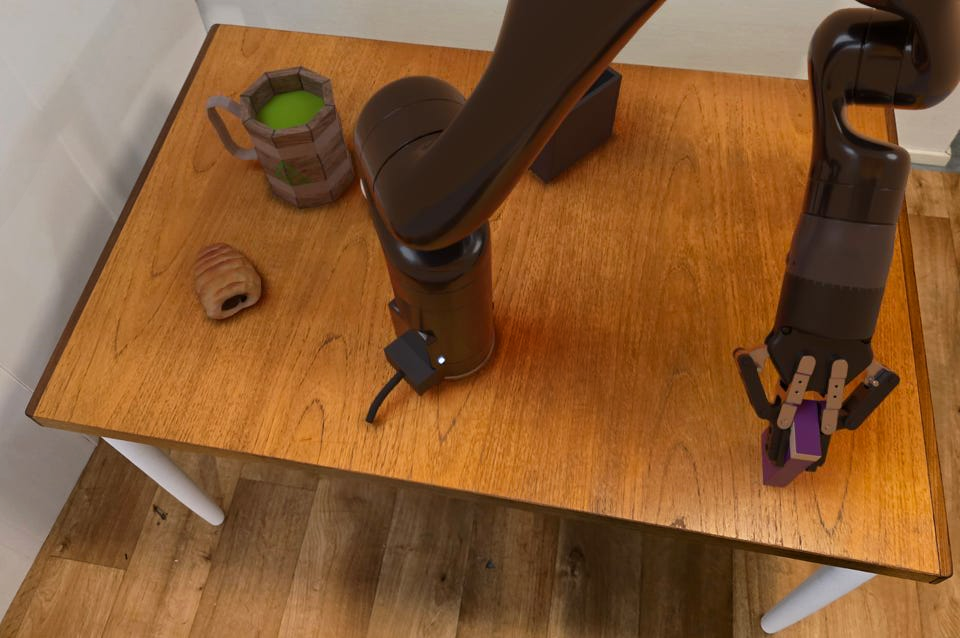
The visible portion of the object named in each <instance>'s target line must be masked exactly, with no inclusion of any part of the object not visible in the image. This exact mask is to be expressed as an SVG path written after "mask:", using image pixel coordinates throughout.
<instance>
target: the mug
mask: <svg viewBox="0 0 960 638" xmlns="http://www.w3.org/2000/svg"><path fill="white" fill-rule="evenodd" d="M332 87H333V86H332V80H331V78H328V77H326V76H324V75H322V74H320V73H318V72H316V71H313V70H311V69H310V68H307V67H305V66H302V65H299V66H292V67H287V68H281V69H276V70H271V71H265V72H263V73H262V74H261V75H260V76H259V77H257V79H255V81H254V82H252V83H251V84H250V85H249V86H248V87H247V88H246V89H245V90H244V91H243V92H242V93H240V94H239V103H238V102H237V101H235V100H234V99H233V98H230V97H228V96H225V95H222V94H217V95H213V96H210V97H209V98H208V99H206V103H205V112H206V114H205V115H206V118H207V119H208V120H209V122H210V124H211V126H212V127H213V129H214V130H215V132H216V135H217V137H218V138H219V140H220V142H221V144H222V146H223V147H224V149H225V150H226V151H228V152H229V154H231V156H232V157H234V158H237V159H239V160H243V161H252V160H253V161H255V160H258V162H259V164H260V166H261V167H262V169H263V170H264V172H265V175H266V176H267V180H268V181H269V185H270V189H271V193H272V195H273V196H275V197H277V198H279V199H281V200H282V201H283V202H286V203H288V204H290V205H292V206H294V207H295V208H297V209H305V208H311V207H316V206H321V205H326V204H332V203H335V202H336V201H337V200H338V199H339V197H340V196H342V194H343V193H344V192H345V191H346V190H347V189H348V187H349V186H350V185H351V184H352V183H353V182H354V181H355V180H356V178H355V172H354V165H353V159H352V155H351V152H350V150H349V148H348V145H347V143H346V139H345V135H344V130H343V125H342V124H343V123H342V118H341V116H340V114H339V111H338V108H337V106H336V103H335V98H334V93H333V91H334V90H333V88H332ZM217 107H218V108H220V109H223V110H225V111H227V112H229V113H230V114H232V115H233V116H235V117H237V118H238V119H240V120H241V123H242V126H243V127H244V129H245V130H246V132H247V133H248V135H249V137H250V139H251V142H252V144H253V147H254V148H246V147H242V146H240V145H238V144H237V142H236V141H235V140H234V139H233V138H232V136H231V133H230V132H229V130H228V127H227V126H226V123H225V121H224V120H223V118H222V117H221V115H220V114H219V112H218V111H217V109H216V108H217Z"/></svg>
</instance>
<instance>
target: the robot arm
mask: <svg viewBox="0 0 960 638" xmlns="http://www.w3.org/2000/svg"><path fill="white" fill-rule="evenodd" d="M667 1H668V0H508V1H507V4H506V7H505V12H504V15H503V19H502V23H501V25H500V30H499V33H498V37H497V40H496V43H495V46H494V48H493V51H492V53H491V55H490V58H489V61H488V63H487V64H486V67H485V69H484V71H483V73H482V75H481V77H480V79H479V80H478V82H477V84H476V85H475V86H474V88H473V90H472V91H471V93H470V94H469V95H468V97H467V98H466V97H465V96H464V94H463V93H462V92H461V91H460V90H459V89H458V88H457V87H455V86H454V85H453V84H451V83H449V82H448V81H446V80H444V79H441V78H439V77H435V76H431V75H408V76H404V77H400V78H397V79H393V80H392V81H390V82H388V83H386V84H384V85H383V86H381V87H379V89H377V90H376V91H375V92H374V93H373V94H372V95H371V96H370V97H369V98H368V100H367V101H366V102H365V104H364V105H363V106H362V108H361V110H360V112H359V113H358V115H357V118H356V121H355V124H354V128H353V134H352V146H353V153H354V157H355V162H356V165H357V169H358V172H359V176H360V181H361V180H362V184H363V188H364V191H365V195H366V198H367V199H366V198H365V199H366V201H367V205H368V208H369V213H370V216H371V220H372V223H373V226H374V229H375V233H376V235H377V239H378V240H379V244H380V246H381V250H382V253H383V256H384V260H385V263H386V268H387V271H388V275H389V280H390V284H391V289H392V293H393V295H394V298H393V299H391V300H390V301H389V302H388V303H387V307H388V311H389V314H390V318H391V322H392V326H393V329H394V333H395V337H396V339H395V340H393V341H392V342H390V343H389V344H388V345H387V346H385V347H384V348H383V353H384V356H385V359H386V362H387V363H388V364H389V365H390V366H391V367H392V368H393V369H394V370H395V371H396V372H395V374H394V375H393V376H392V377H391V378H389V380H388V381H387V383H386V384H385V385H384V386H383V387H382V388H381V390H380V391H379V392H378V393H377V394H376V396H375V397H374V399H373V401H372V402H371V404H370V406H369V408H368V410H367V414H366V416H365V419H364V421H365V422H366V423H368V424H371V425H372V424H374V422H375V419H376V416H377V414H378V411H379V409H380V407H381V406H382V404H383V403H384V401H385V399H386V398H387V397H388V395H390V394H391V392H392V391H393V390H394V389H395V388H396V387H397V385H399V383H400V382H401V381H402V380H404V382H406V384H407V385H409V386H410V388H411V389H412V390H413V392H415V393H416V394H417V395H418V396H419V397H421V396H423V395H424V394H426V393H427V392H428V391H429V390H430V389H432V388H433V387H438V386H440V385H441V384H442V383H444V382H456V381H461V380H465V379H468V378H470V377H472V376H474V375H475V374H477V373H478V372H480V371H481V370H482V369H484V367H485V366H486V365H487V364H488V362H489V360H490V358H492V355H493V352H494V350H495V342H496V340H495V339H496V337H495V335H496V333H495V328H494V311H495V302H494V297H493V253H492V230H491V224H490V220H489V219H490V218H492V216H493V215H494V214H495V213H496V212H497V211H498V210H499V208H500V207H501V206H502V205H503V203H504V202H506V200H507V198H508V197H509V196H510V195H511V193H512V192H513V191H514V189H515V188H516V186H517V185H518V184H519V183H520V181H521V179H523V177H524V175H525V174H526V173H527V171H528V170H529V169H528V168H529V167H530V166H531V164H532V163H533V161H534V160H535V159H536V157H537V156H538V154H539V153H540V152H541V150H542V149H543V148H544V146H545V145H546V143H547V142H548V141H549V139H550V138H551V137H552V135H553V134H554V132H555V131H556V130H557V128H558V127H559V126H560V124H561V123H562V122H563V120H564V119H565V118H566V116H567V115H568V114H569V113H570V111H571V110H572V109H573V108H574V106H575V105H576V104H577V103H578V101H579V100H580V99H581V98H582V97H583V95H584V94H585V93H586V92H587V91H588V89H589V88H590V87H591V86H592V85H593V83H594V82H595V81H596V80H597V79H598V77H599V76H600V75H601V74H602V73H603V71H604V70H605V69H606V68H607V67H608V66H610V64H611V63H612V62H613V61H614V60H615V59H616V57H617V56H618V55H619V54H620V52H622V50H623V49H624V48H625V47H626V46H627V45H628V44H629V42H630V41H631V40H632V39H633V37H634V36H635V35H636V34H638V32H639V31H640V30H641V29H642V28H643V26H645V24H646V23H647V22H648V21H649V20H650V19H651V18H652V16H653V15H654V14H656V13H657V12H658V11H659V9H660V8H661V7H662V6H663V5H664V4H665V3H666V2H667ZM854 1H855V2H857V3H859V4H861V5H863V6H866V7H846V8H839V9H837V10H835V11H833V12H831V13H830V14H828V15H826V17H825V18H824V19H822V21H821V22H820V23H819V25H818V26H817V28H815V31H814V32H813V34H812V36H811V39H810V41H809V44H808V49H807V56H806V65H807V67H806V68H807V80H808V82H807V83H808V91H809V99H810V109H811V110H810V111H811V131H812V132H811V154H810V162H809V168H808V174H807V179H806V185H805V189H804V193H803V199H802V203H801V208H800V212H799V217H798V220H797V222H796V225H795V227H794V229H793V230H794V231H793V233H792V237H791V240H790V244H789V249H788V251H787V253H786V257H785V269H784V274H783V278H782V283H781V288H780V294H779V297H778V302H777V308H776V313H775V316H774V317H775V318H774V323H773V327H772V328H771V330H770V332H768V334H767V335H766V337H765V339H764V340H763V343H761V344H759V345H756V346H753V347H750V348H748V349H746V348H744V347H740V346H739V347H736V348H735V349H734V350H733V351H732V357H733V360H734V362H735V366H736V368H737V371H738V374H739V377H740V379H741V382H742V385H743V388H744V390H745V392H746V396H747V399H748V401H749V404H750V406H751V408H752V409H753V411H754V412H755V414H756V416H757V417H758V418H759V419H761V420H766V421H768V426H769V427H768V426H767V427H768V431H767V436H766V441H765V445H764V450H765V453H766V455H767V457H768V459H769V460H770V461H771V463H772V465H773V466H774V467H777V468H783V467H784V464H785V460H786V455H787V451H788V446H789V442H790V434H791V430H790V428H789V427H790V426H791V424H792V421H793V418H794V415H795V412H796V409H797V407H798V406H799V405H800V404H801V402H802V399H804V396H805V393H806V392H813V393H812V395H813V400H816V401H817V410H818V422H819V435H820V447H821V457H820V458H819V459H818V460H817V461H815V462H813V463H812V464H811V465H810V466H809V467H808V468H807V469H805V470H804V471H805V472H809V473H816V472H817V469H818V468H822V467H823V466H824V464H825V462H826V459H827V455H828V451H829V447H830V442H831V440H832V439H831V438H832V435H833V434H834V433H835V432H837V431H841V430H848V431H851V432H852V431H853V432H854V431H856V430H858V429H859V427H861V425H862V424H863V423H865V421H866V420H867V419H868V418H869V416H871V415H872V413H874V412H875V410H876V409H877V408H878V407H879V406H880V405H881V404H882V403H883V401H885V399H886V398H887V397H888V396H889V395H890V394H891V393H892V392H893V391H894V390H895V389H896V388H897V387H898V386H899V384H900V382H901V378H900V376H899V375H898V374H897V373H896V372H895V370H893V369H891V368H890V367H888V366H887V365H886V364H883V363H880V362H878V361H877V360H875V358H874V357H875V356H874V355H875V354H874V350H873V347H872V339H873V337H874V334H875V331H876V327H877V324H878V319H879V315H880V311H881V307H882V303H883V299H884V295H885V291H886V286H887V282H888V278H889V274H890V269H891V267H892V262H893V257H894V253H895V245H896V242H895V241H896V231H897V227H898V224H897V223H899V222H898V221H899V218H900V213H901V211H902V210H901V209H902V207H903V201H904V198H905V193H906V189H907V185H908V181H909V176H910V172H911V165H912V159H911V154H910V152H909V151H908V150H907V149H906V148H905V147H903V146H900V145H898V144H894V143H892V142H889V141H885V140H881V139H878V138H873V137H871V136H868V135H866V134H863V133H861V132H859V131H858V130H856V129H855V128H854V127H853V126H852V125H851V123H850V121H849V118H848V117H849V116H848V107H853V106H855V107H861V108H862V107H863V108H875V109H876V108H877V109H891V110H892V109H893V110H902V111H903V110H904V111H924V110H928V109H931V108H933V107H935V106H937V105H939V104H940V103H942V102H944V101H945V100H946V99H947V98H949V96H950V95H952V93H953V92H954V91H955V90H956V88H957V87H958V86H959V84H960V0H854ZM768 358H769V360H770V361H771V364H772V365H773V367H774V369H775V371H776V373H777V375H778V377H777V381H776V383H775V389H774V391H775V394H774V396H773V400H772V402H770V401H769V399H768V397H767V395H766V392H765V388H764V386H763V382H762V381H761V377H760V374H762V373H763V372H764V371H765V369H766V366H765V362H766V360H767V359H768ZM861 373H862V374H861ZM860 374H861V375H860ZM858 376H860V383H859V384H858V385H856V387H855V388H854V389H853V390H852V391H851V392H850V394H848V396H847V397H845V399H843V398H844V390H845V387H847V386H848V385H849V384H850V383H851V382H852V381H853V380H854V379H856V378H857V377H858Z"/></svg>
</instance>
